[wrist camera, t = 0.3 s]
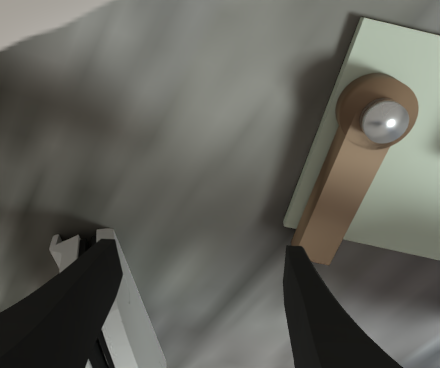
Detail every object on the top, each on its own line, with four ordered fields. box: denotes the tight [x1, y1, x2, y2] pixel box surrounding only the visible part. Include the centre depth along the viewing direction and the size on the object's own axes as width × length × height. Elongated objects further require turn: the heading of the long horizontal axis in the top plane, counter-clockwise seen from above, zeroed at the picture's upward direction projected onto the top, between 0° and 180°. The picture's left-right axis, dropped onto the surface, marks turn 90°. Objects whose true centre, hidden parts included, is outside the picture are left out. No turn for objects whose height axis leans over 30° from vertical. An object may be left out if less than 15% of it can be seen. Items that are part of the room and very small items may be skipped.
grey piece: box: [49, 228, 167, 368], centre depth 26 cm, size 17×5×10 cm, turn 10°
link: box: [291, 73, 419, 265], centre depth 19 cm, size 12×4×2 cm, turn 169°
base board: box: [283, 17, 440, 261], centre depth 20 cm, size 14×13×1 cm
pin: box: [359, 98, 409, 144], centre depth 16 cm, size 2×2×1 cm
